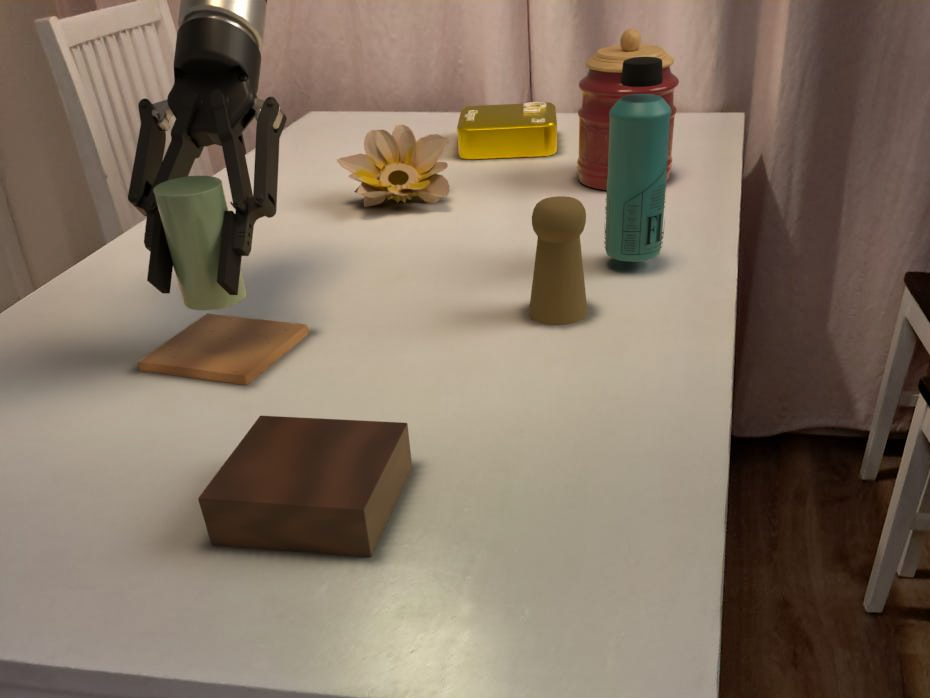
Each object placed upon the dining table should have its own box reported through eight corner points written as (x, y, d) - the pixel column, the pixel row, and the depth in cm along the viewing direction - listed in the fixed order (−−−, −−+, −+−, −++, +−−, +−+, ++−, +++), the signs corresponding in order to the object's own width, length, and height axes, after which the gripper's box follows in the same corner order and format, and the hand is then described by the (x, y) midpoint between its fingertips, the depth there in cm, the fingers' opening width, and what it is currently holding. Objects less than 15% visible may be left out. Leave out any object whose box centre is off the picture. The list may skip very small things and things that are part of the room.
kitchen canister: (572, 193, 125) (574, 39, 113) (581, 166, 134) (584, 21, 122) (669, 193, 122) (682, 36, 111) (672, 165, 132) (684, 18, 120)
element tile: (463, 135, 150) (461, 102, 147) (555, 131, 150) (555, 98, 146) (457, 161, 139) (455, 125, 136) (557, 156, 138) (557, 121, 135)
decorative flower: (332, 209, 118) (328, 119, 114) (342, 204, 128) (338, 122, 124) (449, 211, 119) (449, 122, 114) (449, 207, 129) (450, 125, 124)
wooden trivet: (140, 371, 89) (137, 361, 88) (209, 322, 97) (207, 312, 97) (247, 386, 85) (244, 375, 85) (309, 333, 94) (307, 324, 93)
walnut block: (211, 545, 66) (197, 498, 64) (270, 459, 75) (260, 415, 72) (371, 557, 64) (363, 509, 62) (412, 468, 73) (407, 422, 70)
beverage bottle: (647, 279, 100) (662, 66, 87) (591, 270, 103) (598, 62, 90) (670, 260, 104) (688, 53, 91) (617, 251, 107) (626, 50, 94)
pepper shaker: (590, 324, 92) (594, 207, 85) (530, 326, 92) (528, 211, 85) (584, 300, 97) (588, 188, 89) (527, 303, 97) (525, 191, 89)
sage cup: (170, 307, 87) (138, 193, 80) (206, 283, 91) (178, 173, 84) (224, 313, 85) (196, 197, 78) (258, 288, 89) (234, 177, 82)
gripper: (332, 67, 87) (306, 307, 86) (146, 71, 90) (120, 302, 89) (303, 8, 79) (275, 270, 78) (102, 15, 83) (73, 267, 82)
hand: (192, 287), depth 84 cm, fingers closed on sage cup, 6 cm apart
